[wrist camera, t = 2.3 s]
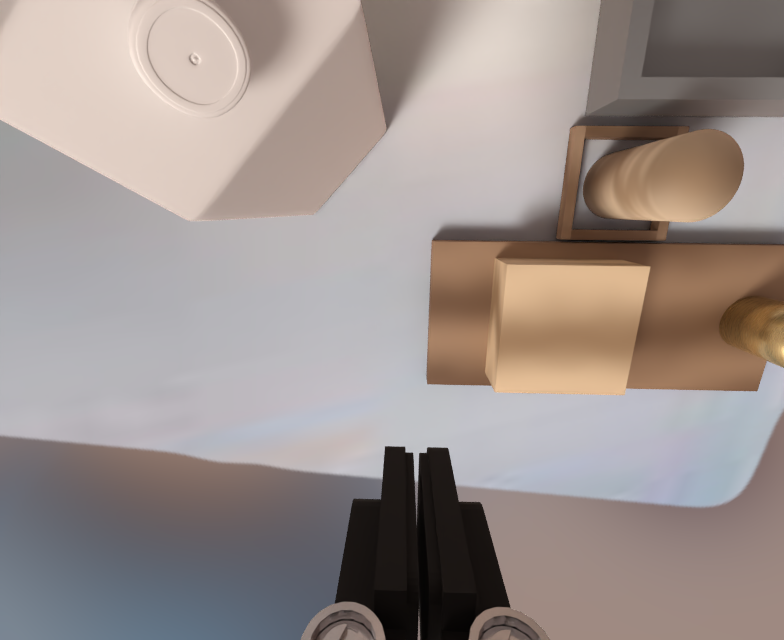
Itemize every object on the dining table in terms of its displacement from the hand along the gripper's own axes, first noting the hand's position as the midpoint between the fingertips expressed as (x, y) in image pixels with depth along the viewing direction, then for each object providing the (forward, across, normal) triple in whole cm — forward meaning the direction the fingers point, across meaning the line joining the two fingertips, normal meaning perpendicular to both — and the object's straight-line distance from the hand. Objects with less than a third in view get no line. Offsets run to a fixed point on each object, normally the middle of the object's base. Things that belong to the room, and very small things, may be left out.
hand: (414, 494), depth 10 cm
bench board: (+17, -13, -1) cm, 22 cm away
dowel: (+17, -13, -9) cm, 23 cm away
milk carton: (+18, +6, -12) cm, 22 cm away
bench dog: (+16, -23, -1) cm, 28 cm away
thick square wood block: (+16, -10, 0) cm, 19 cm away
